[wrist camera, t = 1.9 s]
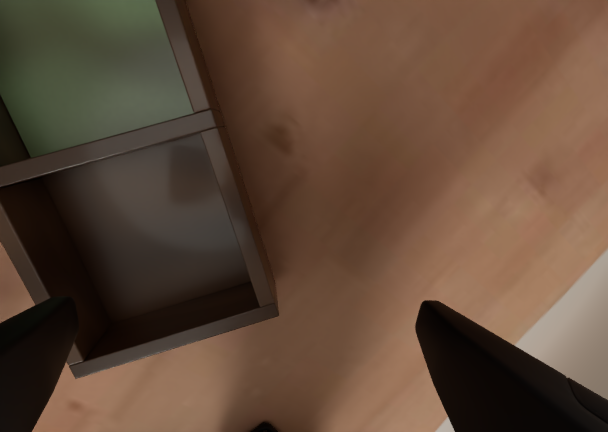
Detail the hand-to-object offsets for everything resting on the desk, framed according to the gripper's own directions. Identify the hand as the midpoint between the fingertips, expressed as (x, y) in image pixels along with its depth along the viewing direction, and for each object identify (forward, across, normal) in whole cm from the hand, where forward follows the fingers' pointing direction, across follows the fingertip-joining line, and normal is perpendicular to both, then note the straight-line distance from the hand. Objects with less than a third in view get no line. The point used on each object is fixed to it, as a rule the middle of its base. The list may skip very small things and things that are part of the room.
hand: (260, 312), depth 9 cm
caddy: (+12, +7, -1) cm, 14 cm away
